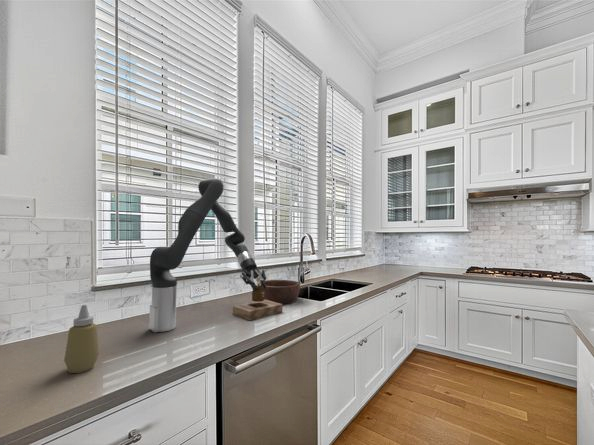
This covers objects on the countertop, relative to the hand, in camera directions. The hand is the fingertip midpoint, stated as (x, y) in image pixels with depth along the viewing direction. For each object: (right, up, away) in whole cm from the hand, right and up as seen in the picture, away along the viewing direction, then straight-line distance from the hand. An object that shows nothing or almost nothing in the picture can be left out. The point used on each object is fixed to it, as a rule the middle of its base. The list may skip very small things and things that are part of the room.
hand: (260, 288), depth 141 cm
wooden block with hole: (-1, -12, +1) cm, 12 cm away
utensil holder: (-1, -6, +1) cm, 6 cm away
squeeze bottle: (-44, -10, -59) cm, 74 cm away
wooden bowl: (+7, -14, +29) cm, 33 cm away
